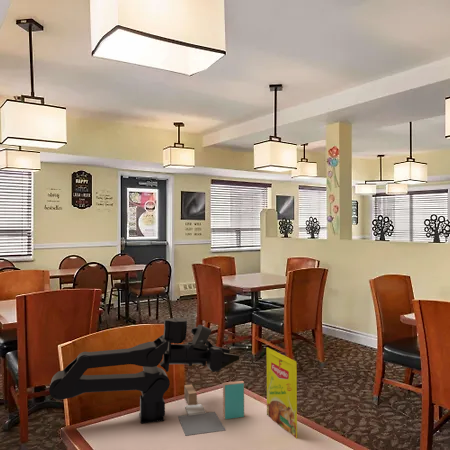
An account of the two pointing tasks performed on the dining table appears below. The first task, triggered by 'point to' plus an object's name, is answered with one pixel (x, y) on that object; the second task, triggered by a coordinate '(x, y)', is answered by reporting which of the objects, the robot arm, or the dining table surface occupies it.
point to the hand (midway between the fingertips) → (234, 354)
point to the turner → (192, 401)
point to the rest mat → (201, 423)
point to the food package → (282, 390)
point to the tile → (233, 399)
